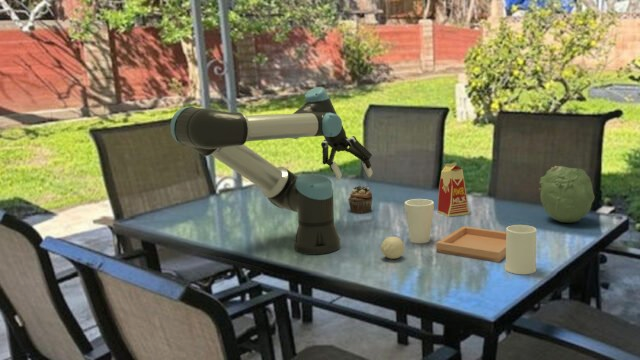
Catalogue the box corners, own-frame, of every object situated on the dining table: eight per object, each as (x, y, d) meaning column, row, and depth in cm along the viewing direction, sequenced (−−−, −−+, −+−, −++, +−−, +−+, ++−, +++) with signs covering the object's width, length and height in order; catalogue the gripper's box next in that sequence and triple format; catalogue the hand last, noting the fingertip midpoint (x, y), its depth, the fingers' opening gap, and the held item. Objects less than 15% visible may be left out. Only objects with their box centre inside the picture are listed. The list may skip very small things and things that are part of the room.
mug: (520, 259, 186) (521, 220, 184) (547, 265, 180) (548, 225, 178) (499, 270, 178) (499, 229, 176) (526, 277, 172) (527, 235, 170)
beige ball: (376, 259, 192) (375, 238, 191) (391, 252, 197) (390, 232, 196) (393, 263, 188) (393, 242, 186) (408, 257, 193) (408, 236, 191)
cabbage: (584, 231, 209) (587, 172, 204) (529, 222, 221) (531, 167, 217) (601, 220, 220) (603, 164, 216) (548, 212, 233) (549, 159, 228)
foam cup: (433, 235, 212) (432, 198, 209) (435, 244, 203) (434, 205, 200) (404, 236, 213) (404, 199, 210) (405, 245, 204) (405, 206, 202)
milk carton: (469, 213, 237) (469, 161, 232) (448, 217, 233) (448, 164, 229) (456, 208, 245) (455, 158, 241) (435, 211, 242) (435, 160, 237)
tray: (498, 262, 184) (498, 252, 184) (436, 251, 196) (436, 242, 195) (521, 243, 200) (522, 234, 199) (463, 234, 212) (463, 226, 211)
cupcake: (375, 207, 252) (374, 183, 250) (370, 214, 243) (369, 189, 241) (351, 207, 254) (350, 183, 252) (346, 213, 245) (345, 188, 243)
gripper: (366, 118, 215) (388, 167, 225) (308, 126, 230) (331, 172, 240) (357, 130, 211) (380, 180, 220) (299, 138, 225) (323, 184, 235)
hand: (355, 176), depth 230 cm, fingers open, 13 cm apart
